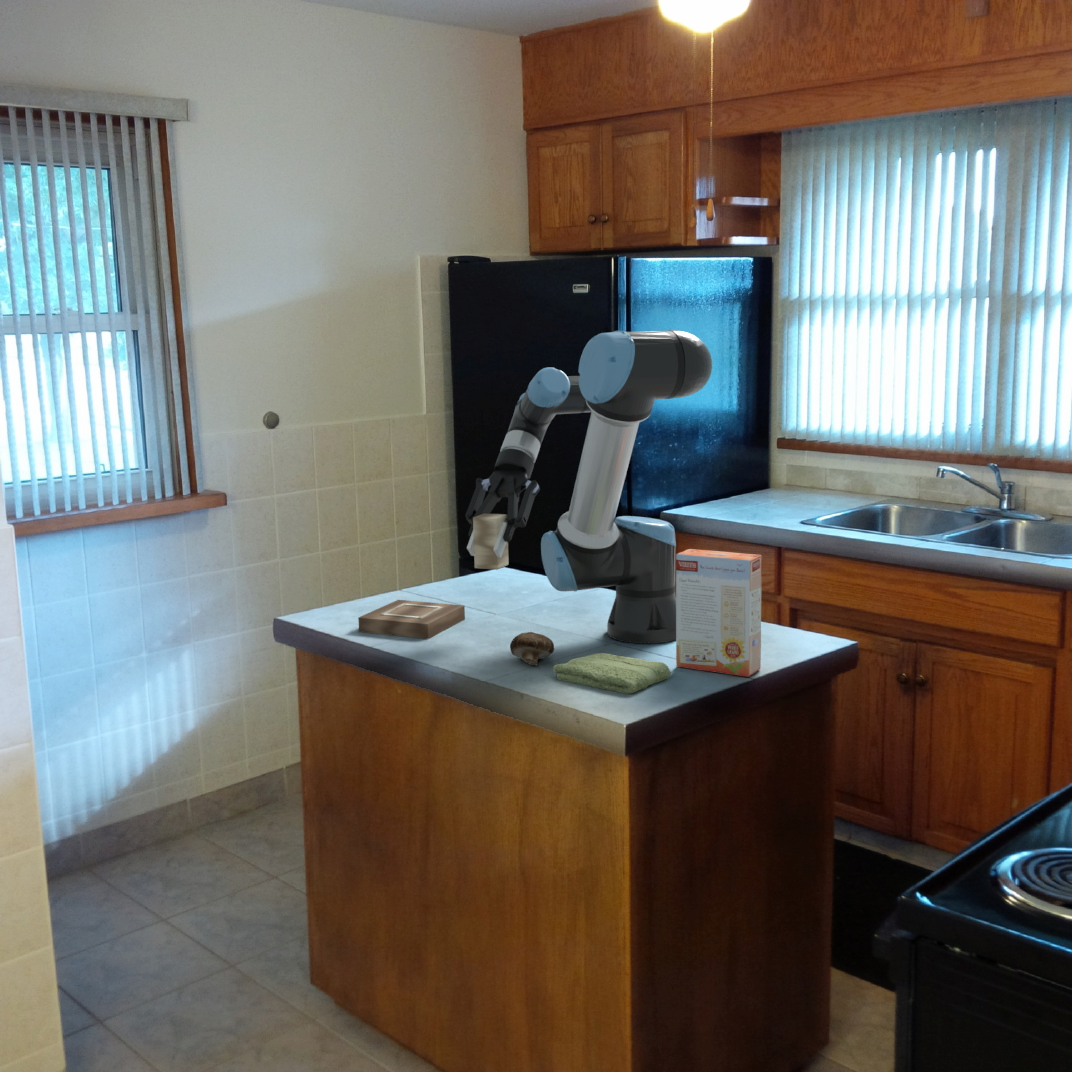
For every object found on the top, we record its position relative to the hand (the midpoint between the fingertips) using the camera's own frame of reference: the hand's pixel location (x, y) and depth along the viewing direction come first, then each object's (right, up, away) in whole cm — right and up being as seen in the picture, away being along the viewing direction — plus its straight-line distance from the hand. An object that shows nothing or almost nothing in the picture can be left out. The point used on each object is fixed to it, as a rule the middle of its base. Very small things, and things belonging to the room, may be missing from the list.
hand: (483, 552), depth 224 cm
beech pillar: (+1, -3, +4) cm, 5 cm away
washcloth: (+23, -22, -22) cm, 39 cm away
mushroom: (+9, -20, -12) cm, 25 cm away
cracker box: (+43, -20, -18) cm, 51 cm away
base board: (-15, -15, +15) cm, 26 cm away
